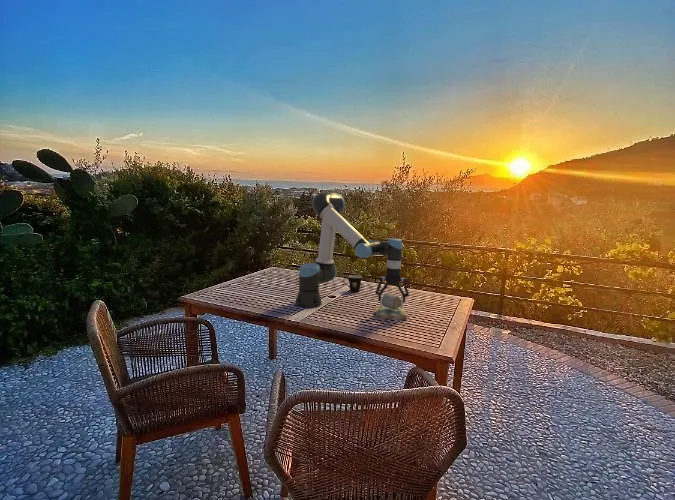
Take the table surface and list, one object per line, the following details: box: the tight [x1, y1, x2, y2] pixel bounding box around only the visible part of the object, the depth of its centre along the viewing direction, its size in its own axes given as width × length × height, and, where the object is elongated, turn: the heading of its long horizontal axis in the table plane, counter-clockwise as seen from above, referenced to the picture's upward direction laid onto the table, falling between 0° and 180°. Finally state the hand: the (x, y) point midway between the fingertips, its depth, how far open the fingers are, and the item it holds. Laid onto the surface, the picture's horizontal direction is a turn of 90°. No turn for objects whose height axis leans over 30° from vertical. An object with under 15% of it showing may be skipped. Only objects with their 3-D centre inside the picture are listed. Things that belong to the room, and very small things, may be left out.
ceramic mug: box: [382, 292, 401, 310], centre depth 204 cm, size 11×8×8 cm
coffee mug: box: [342, 274, 363, 293], centre depth 251 cm, size 12×9×10 cm
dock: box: [375, 305, 408, 321], centre depth 204 cm, size 16×12×3 cm
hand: (391, 307), depth 203 cm, fingers closed on ceramic mug, 10 cm apart
